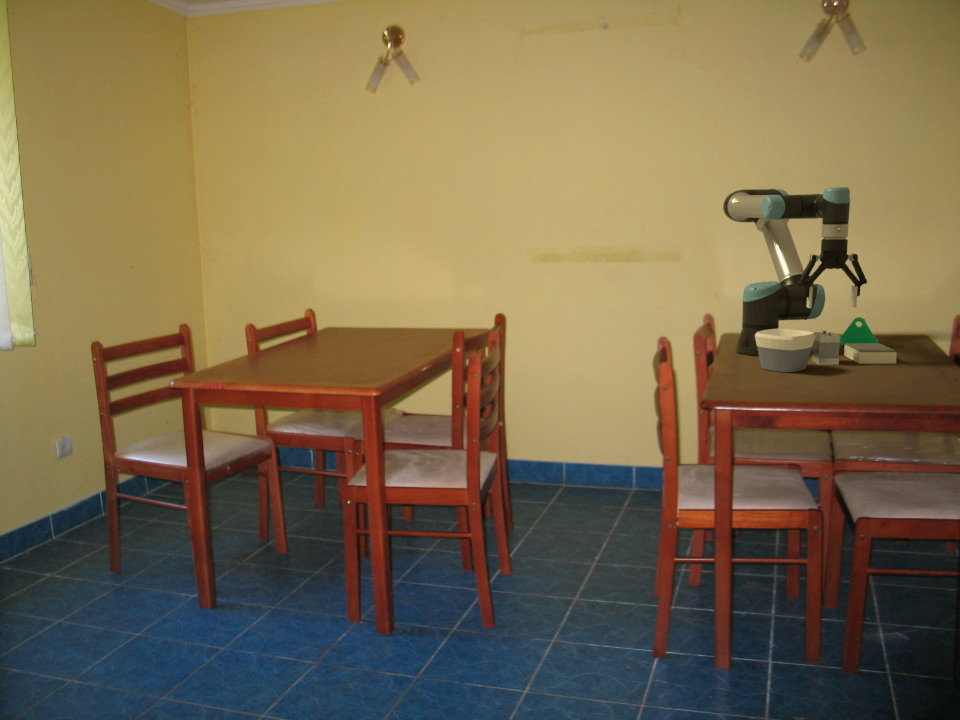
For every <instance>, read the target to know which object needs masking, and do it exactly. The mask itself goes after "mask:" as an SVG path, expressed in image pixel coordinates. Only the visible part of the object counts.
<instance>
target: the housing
mask: <svg viewBox="0 0 960 720" xmlns="http://www.w3.org/2000/svg"><path fill="white" fill-rule="evenodd" d="M813 332H814V333H815V339H814V343H813V346H812V349H811V361H812V362H814V363H815V364H816V365H819V366H826V365H827V366H829V365H830V366H831V365H833V366H836V365H837V366H838V365H839V364H840V344H839V342H840V337H841V335H840V334H837V333H835V332H833V331H826V330H822V331H820V332H818V331H813Z"/></svg>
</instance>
